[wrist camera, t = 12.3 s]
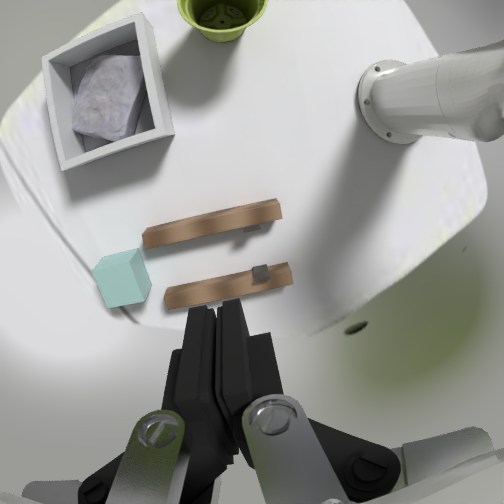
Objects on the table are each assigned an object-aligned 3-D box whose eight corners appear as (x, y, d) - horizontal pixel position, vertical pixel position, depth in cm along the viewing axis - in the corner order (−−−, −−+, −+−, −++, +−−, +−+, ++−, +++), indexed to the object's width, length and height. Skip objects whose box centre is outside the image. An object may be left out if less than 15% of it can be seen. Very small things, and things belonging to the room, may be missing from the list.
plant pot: (216, -15, 28) (214, -46, 20) (273, 18, 30) (285, -9, 22) (172, 32, 30) (159, 8, 22) (230, 66, 33) (231, 47, 25)
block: (138, 247, 41) (129, 261, 36) (152, 284, 43) (144, 301, 39) (104, 256, 41) (91, 270, 36) (118, 291, 43) (107, 308, 39)
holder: (153, 27, 29) (141, 12, 24) (175, 134, 36) (165, 134, 30) (63, 64, 29) (41, 57, 24) (82, 165, 36) (61, 171, 30)
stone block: (84, 137, 36) (137, 146, 35) (62, 134, 31) (117, 143, 30) (106, 60, 33) (162, 61, 32) (86, 51, 28) (145, 49, 27)
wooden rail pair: (276, 198, 40) (281, 205, 36) (289, 274, 44) (294, 287, 41) (147, 228, 40) (139, 237, 36) (171, 299, 44) (167, 313, 41)
